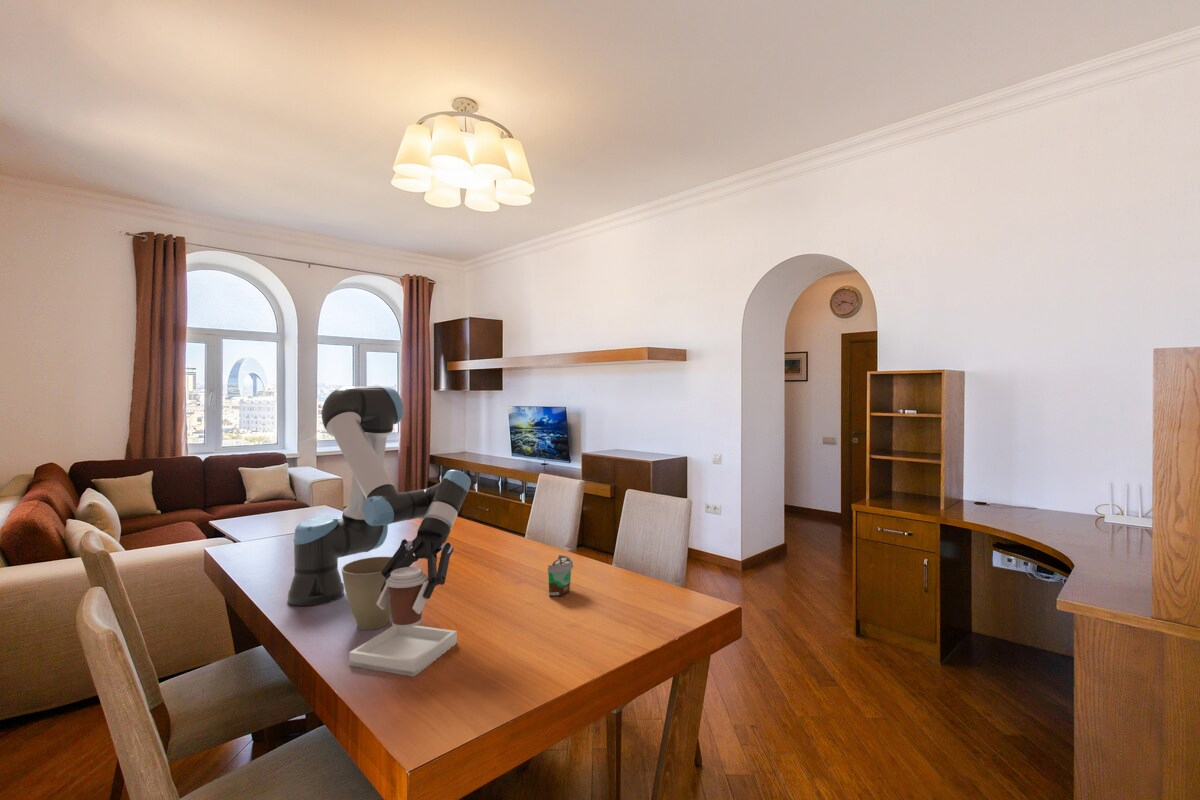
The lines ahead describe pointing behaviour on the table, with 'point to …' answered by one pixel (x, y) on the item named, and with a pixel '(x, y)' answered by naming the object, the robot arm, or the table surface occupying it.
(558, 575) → the food container
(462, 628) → the table surface
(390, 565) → the robot arm
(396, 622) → the coffee cup
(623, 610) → the table surface
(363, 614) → the plant pot
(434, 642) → the tray
